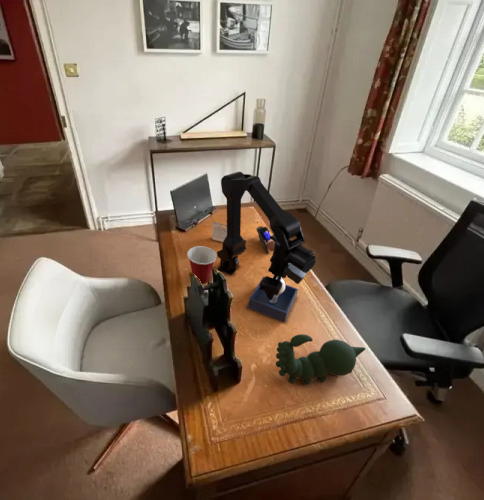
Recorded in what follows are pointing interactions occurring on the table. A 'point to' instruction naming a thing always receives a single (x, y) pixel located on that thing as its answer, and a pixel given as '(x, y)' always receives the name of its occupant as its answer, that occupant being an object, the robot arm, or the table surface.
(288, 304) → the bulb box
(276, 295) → the lightbulb
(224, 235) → the ink cartridge box
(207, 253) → the plastic cup
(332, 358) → the toy figurine
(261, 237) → the character figurine
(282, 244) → the robot arm
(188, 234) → the table surface
